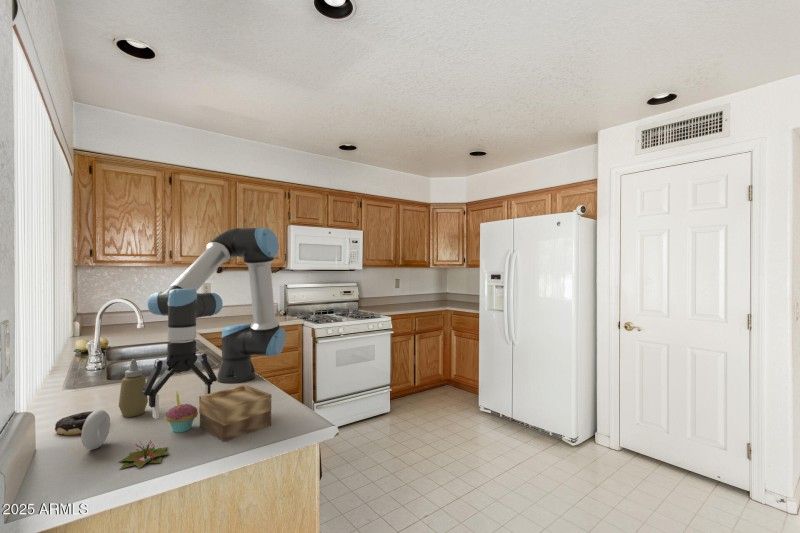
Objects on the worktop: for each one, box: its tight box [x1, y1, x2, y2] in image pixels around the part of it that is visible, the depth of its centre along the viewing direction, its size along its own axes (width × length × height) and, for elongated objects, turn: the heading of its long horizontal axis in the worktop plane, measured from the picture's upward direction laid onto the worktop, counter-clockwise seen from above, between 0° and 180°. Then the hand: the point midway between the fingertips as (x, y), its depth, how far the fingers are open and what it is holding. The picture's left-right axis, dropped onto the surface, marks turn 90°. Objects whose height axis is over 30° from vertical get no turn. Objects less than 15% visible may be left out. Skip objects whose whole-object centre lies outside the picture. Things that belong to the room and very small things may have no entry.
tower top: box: [198, 384, 272, 426], centre depth 122 cm, size 15×15×5 cm
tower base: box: [199, 410, 272, 443], centre depth 122 cm, size 15×15×5 cm
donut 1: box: [54, 410, 95, 436], centre depth 119 cm, size 11×12×4 cm
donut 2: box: [80, 409, 111, 451], centre depth 107 cm, size 10×4×10 cm, turn 12°
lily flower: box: [118, 440, 170, 470], centre depth 101 cm, size 12×12×5 cm
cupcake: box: [165, 391, 199, 433], centre depth 119 cm, size 9×8×12 cm
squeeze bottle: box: [118, 358, 149, 418], centre depth 130 cm, size 8×8×18 cm
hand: (181, 411), depth 119 cm, fingers open, 13 cm apart
